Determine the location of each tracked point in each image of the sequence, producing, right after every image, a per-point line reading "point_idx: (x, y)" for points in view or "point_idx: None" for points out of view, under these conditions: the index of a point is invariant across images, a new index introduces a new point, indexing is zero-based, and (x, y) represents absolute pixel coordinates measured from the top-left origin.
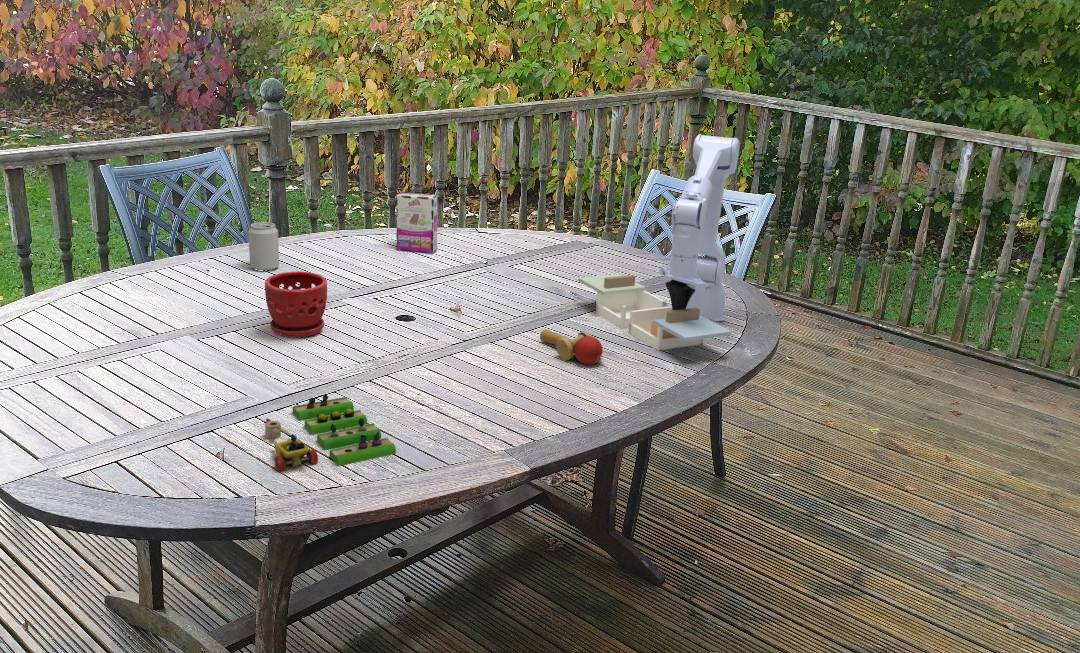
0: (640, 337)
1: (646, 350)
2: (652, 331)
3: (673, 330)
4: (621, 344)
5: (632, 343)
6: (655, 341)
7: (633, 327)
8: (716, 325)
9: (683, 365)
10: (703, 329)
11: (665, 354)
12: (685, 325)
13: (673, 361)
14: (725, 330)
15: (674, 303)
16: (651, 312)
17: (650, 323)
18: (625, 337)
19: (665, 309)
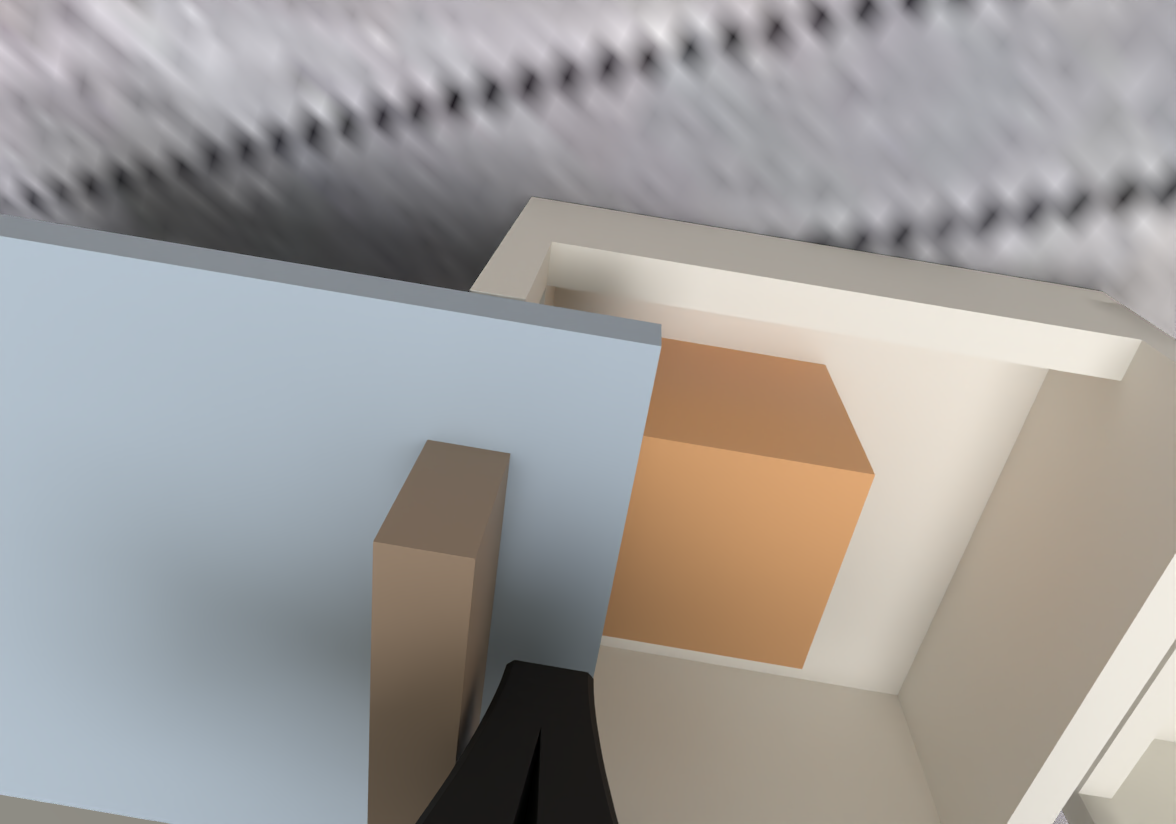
0: (883, 271)
1: (664, 157)
2: (806, 403)
3: (109, 269)
4: (978, 18)
5: (912, 168)
6: (576, 235)
7: (1074, 321)
8: (167, 800)
9: (170, 201)
10: (75, 626)
11: (481, 255)
12: (268, 558)
13: (292, 189)
14: (2, 767)
15: (506, 802)
16: (1073, 657)
17: (1014, 563)
18: (1095, 230)
19: (997, 809)
